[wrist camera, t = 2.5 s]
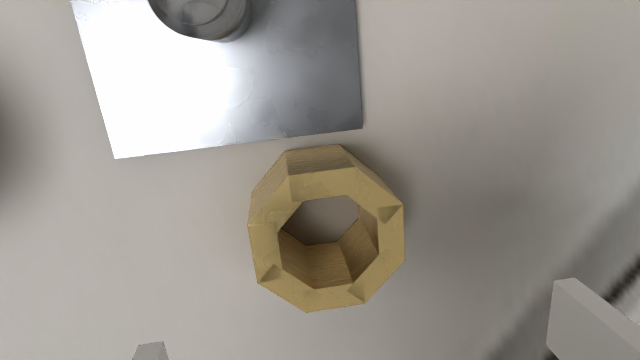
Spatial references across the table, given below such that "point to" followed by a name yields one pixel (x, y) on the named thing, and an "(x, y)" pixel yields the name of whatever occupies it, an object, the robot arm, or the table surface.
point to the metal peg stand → (220, 70)
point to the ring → (333, 257)
